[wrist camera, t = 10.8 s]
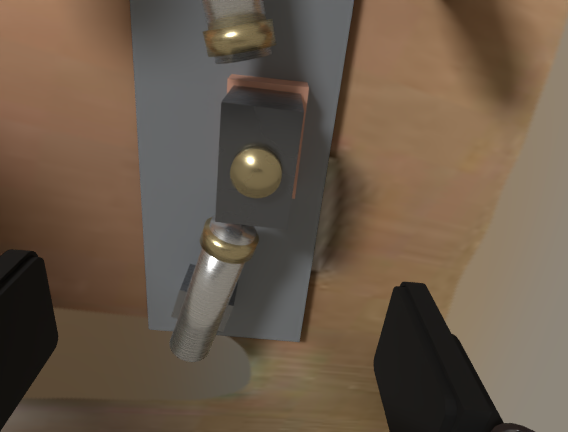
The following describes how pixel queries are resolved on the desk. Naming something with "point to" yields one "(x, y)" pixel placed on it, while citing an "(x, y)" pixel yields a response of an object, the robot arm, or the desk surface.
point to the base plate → (205, 149)
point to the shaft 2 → (210, 287)
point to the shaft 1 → (237, 30)
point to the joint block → (258, 156)
